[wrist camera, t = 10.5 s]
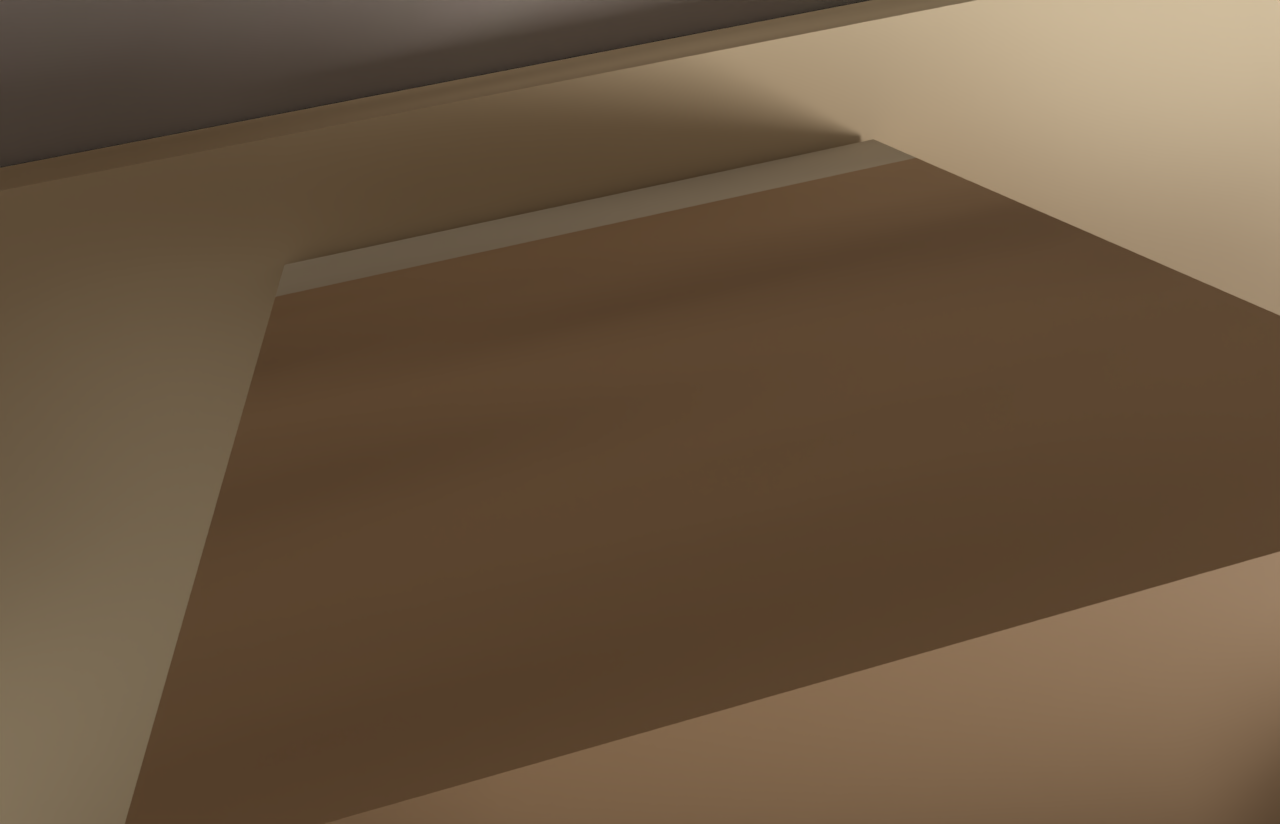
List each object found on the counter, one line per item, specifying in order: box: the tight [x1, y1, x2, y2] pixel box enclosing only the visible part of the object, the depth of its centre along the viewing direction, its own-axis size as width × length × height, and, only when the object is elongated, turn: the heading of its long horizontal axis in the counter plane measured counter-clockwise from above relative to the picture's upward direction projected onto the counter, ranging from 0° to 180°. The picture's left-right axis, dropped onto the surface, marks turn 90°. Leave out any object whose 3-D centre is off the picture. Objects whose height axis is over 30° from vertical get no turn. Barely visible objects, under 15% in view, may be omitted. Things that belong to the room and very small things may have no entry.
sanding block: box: [125, 139, 1280, 824], centre depth 8 cm, size 8×5×6 cm, turn 9°
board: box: [0, 0, 1280, 824], centre depth 13 cm, size 18×14×1 cm
